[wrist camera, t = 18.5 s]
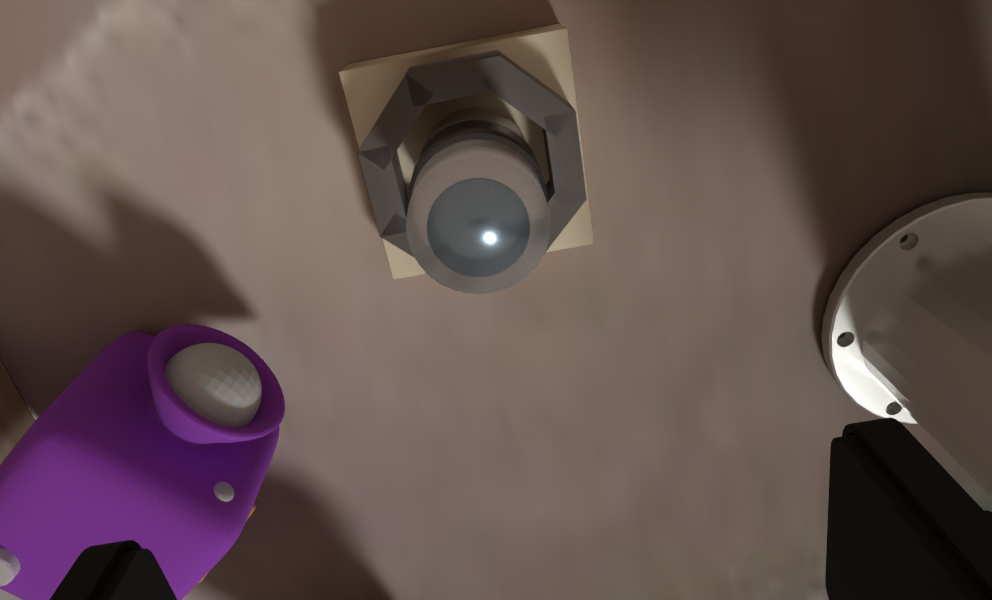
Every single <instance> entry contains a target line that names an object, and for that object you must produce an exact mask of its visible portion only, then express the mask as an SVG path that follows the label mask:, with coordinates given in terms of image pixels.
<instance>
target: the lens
mask: <svg viewBox="0 0 992 600" xmlns="http://www.w3.org/2000/svg"><path fill="white" fill-rule="evenodd" d="M407 210H408V211H407V217H406V234H407V239H408V243H409V246H410V249H411V251H412V253H413V256H414V258H415V259H416V261H417V262H418V264H419V265H420V266H421V268H422V269H423V270H424V271H425V272H426V273H427V274H428V275H429V276H430V277H432V278H433V279H434V280H436V281H437V282H439V283H440V284H442V285H444V286H446V287H448V288H451V289H454V290H456V291H461V292H465V293H473V294H483V293H492V292H496V291H500V290H503V289H506V288H508V287H510V286H512V285H514V284H516V283H518V282H519V281H521V280H522V279H524V278H525V277H526V276H527V275H528V274H529V273H531V272H532V270H533V269H534V268H535V267H536V266H537V264H538V263H539V261H540V260H541V258H542V257H543V255H544V253H545V251H546V248H547V245H548V242H549V237H550V228H551V221H550V213H549V209H548V195H547V189H546V185H545V181H544V179H543V176H542V173H541V170H540V167H539V164H538V162H537V159H536V157H535V155H534V153H533V151H532V149H531V148H530V147H529V145H528V144H527V141H526V139H525V137H524V135H523V133H522V132H521V130H520V129H519V128H518V126H517V125H516V124H515V123H514V122H513V121H512V120H510V119H509V118H508V117H506V116H505V115H503V114H501V113H499V112H497V111H494V110H491V109H487V108H480V107H472V108H465V109H461V110H458V111H455V112H453V113H451V114H449V115H447V116H446V117H444V118H443V119H442V120H440V121H439V122H438V123H437V124H436V125H435V126H434V128H433V129H432V130H431V132H430V133H429V135H428V137H427V139H426V142H425V144H424V147H423V149H422V150H421V152H420V154H419V156H418V158H417V161H416V163H415V166H414V170H413V174H412V177H411V181H410V185H409V189H408V196H407Z"/></svg>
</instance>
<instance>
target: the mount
mask: <svg viewBox="0 0 992 600" xmlns="http://www.w3.org/2000/svg"><path fill="white" fill-rule="evenodd" d="M339 75H340V78H341V82H342V86H343V90H344V93H345V97H346V101H347V105H348V109H349V112H350V116H351V120H352V124H353V127H354V131H355V135H356V139H357V143H358V146H359V150H358V156H359V160H360V163H361V167H362V171H363V175H364V178H365V182H366V186H367V190H368V193H369V197H370V201H371V205H372V209H373V212H374V216H375V220H376V224H377V227H378V231H379V235H380V237H381V238H383V241H384V245H385V248H386V252H387V256H388V260H389V263H390V267H391V271H392V275H393V279H399V278H405V277H410V276H416V275H422V274H427V273H426V272H425V271H424V270H423V269H422V268H421V266H420V265H419V264H418V262H417V261H416V259H415V258H414V256H413V253H412V251H411V249H410V246H409V243H408V239H407V234H406V217H407V211H408V210H407V196H408V189H409V185H410V181H411V177H412V174H413V170H414V166H415V163H416V161H417V158H418V156H419V154H420V152H421V150H422V149H423V147H424V144H425V142H426V139H427V137H428V135H429V133H430V132H431V130H432V129H433V128H434V126H435V125H436V124H437V123H438V122H439V121H440V120H442V119H443V118H444V117H446V116H447V115H449V114H451V113H453V112H455V111H458V110H461V109H465V108H472V107H480V108H487V109H491V110H494V111H497V112H499V113H501V114H503V115H505V116H506V117H508V118H509V119H510V120H512V121H513V122H514V123H515V124H516V125H517V126H518V128H519V129H520V130H521V132H522V133H523V135H524V137H525V139H526V141H527V144H528V145H529V147H530V148H531V149H532V151H533V153H534V155H535V157H536V159H537V162H538V164H539V167H540V170H541V173H542V176H543V179H544V181H545V185H546V189H547V195H548V209H549V213H550V221H551V228H550V237H549V242H548V245H547V248H546V251H545V252H550V251H556V250H562V249H567V248H573V247H578V246H584V245H590V244H594V242H593V234H592V225H591V217H590V209H589V201H588V193H587V185H586V177H585V169H584V161H583V153H582V145H581V136H580V128H579V120H578V112H577V104H576V96H575V88H574V80H573V72H572V64H571V56H570V47H569V39H568V31H567V28H566V27H564V26H563V25H561V24H554V25H549V26H543V27H538V28H533V29H528V30H523V31H517V32H512V33H507V34H502V35H497V36H491V37H486V38H481V39H476V40H471V41H465V42H460V43H455V44H450V45H445V46H439V47H434V48H429V49H424V50H419V51H413V52H408V53H403V54H398V55H393V56H387V57H382V58H377V59H372V60H367V61H361V62H356V63H351V64H348V65H347V66H346V67H344V68H343V69H342V70H341V71H339ZM544 254H545V253H544Z"/></svg>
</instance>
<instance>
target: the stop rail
mask: <svg viewBox="0 0 992 600" xmlns="http://www.w3.org/2000/svg"><path fill="white" fill-rule="evenodd" d="M34 422H35V420H34V419H33V417H32V415H31V413H30V412H29V410H28V408H27V406H26V405H25V403H24V401H23V399H22V398H21V396H20V394H19V392H18V391H17V389H16V387H15V385H14V383H13V382H12V380H11V378H10V376H9V375H8V373H7V371H6V369H5V368H4V366H3V364H2V362H1V361H0V465H1V463H2V462H3V461H4V460H5V458H6V457H7V456H8V454H9V453H10V452H11V450H12V449H13V448H14V447H15V445H16V444H17V443H18V442H19V440H20V439H21V438H22V436H23V435H24V434H25V433H26V431H27V430H28V429H29V428H30V427H31V425H32V424H33V423H34Z"/></svg>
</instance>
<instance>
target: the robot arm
mask: <svg viewBox="0 0 992 600" xmlns="http://www.w3.org/2000/svg"><path fill="white" fill-rule="evenodd" d="M821 340H822V347H823V354H824V359H825V361H826V364H827V366H828V369H829V371H830V374H831V376H832V377H833V378H834V380H835V381H836V382H837V384H838V385H839V386H840V388H841V389H842V390H843V391H844V392H845V393H846V394H847V395H848V396H849V397H850V398H851V399H852V400H853V401H854V403H855V404H857V405H858V406H860V407H862V408H863V409H865V410H866V411H868V412H869V413H871V414H873V415H876V416H878V417H881V418H883V419H877V420H871V421H865V422H859V423H853V424H848V425H846V426H845V428H844V429H843V434H842V437H837V438H834V439H833V440H832V442H831V454H830V479H829V505H828V530H827V555H826V589H827V594H828V597H829V600H992V512H990V511H988V510H987V511H984V510H983V509H982V508H981V507H980V506H979V505H978V504H977V503H976V502H975V501H974V500H973V499H972V498H971V497H970V496H969V495H968V494H967V492H966V491H965V490H964V489H963V488H962V487H961V486H960V485H959V484H958V483H957V482H956V481H955V480H954V479H953V478H952V477H951V476H950V474H949V473H948V472H947V471H946V470H945V469H944V468H943V467H942V466H941V465H940V464H939V463H938V462H937V461H936V460H935V459H934V458H933V456H932V455H931V454H930V453H929V452H928V451H927V450H926V449H925V448H924V447H923V446H922V445H921V444H920V443H919V442H918V441H917V439H916V438H915V437H914V436H913V435H912V434H911V433H910V432H909V431H908V430H907V429H906V428H905V427H904V426H903V425H902V424H901V423H900V422H902V423H908V424H919V425H920V426H921V427H922V428H923V429H924V430H925V431H926V432H927V433H928V434H929V435H930V436H931V437H932V438H933V439H934V440H935V441H936V442H937V443H938V444H939V445H940V446H941V447H942V448H943V449H944V450H945V451H946V452H947V453H948V454H949V455H950V456H951V457H952V458H953V459H954V460H955V461H956V462H957V463H958V464H959V465H960V466H961V467H962V468H963V469H964V470H965V471H966V472H967V473H968V474H969V475H970V476H971V477H972V478H973V479H974V480H975V481H976V483H977V484H978V485H979V486H980V487H981V488H982V489H983V490H984V491H985V492H986V493H987V494H988V495H989V496H990V497H991V498H992V193H967V194H962V195H956V196H951V197H946V198H943V199H940V200H937V201H935V202H932V203H929V204H926V205H923V206H921V207H919V208H917V209H915V210H913V211H911V212H909V213H907V214H906V215H904V216H902V217H900V218H898V219H896V220H895V221H894V222H892V223H891V224H890V225H888V226H887V227H886V228H884V229H883V230H881V231H880V232H879V233H877V234H876V235H875V236H874V237H873V238H872V239H871V240H870V241H869V242H868V243H867V244H866V245H865V246H864V247H863V248H862V249H861V250H860V251H859V252H858V253H857V254H856V255H855V256H854V257H853V259H852V260H851V261H850V263H849V264H848V265H847V267H846V268H845V269H844V271H843V272H842V274H841V275H840V277H839V279H838V281H837V283H836V285H835V287H834V289H833V291H832V293H831V294H830V296H829V300H828V303H827V306H826V310H825V313H824V317H823V325H822V336H821ZM50 600H177V598H176V596H175V594H174V592H173V590H172V588H171V587H170V585H169V583H168V581H167V579H166V577H165V575H164V573H163V571H162V569H161V568H160V566H159V564H158V562H157V560H156V558H155V556H154V555H153V553H152V552H151V551H150V550H148V549H142V547H141V546H140V545H139V543H137V542H135V541H134V540H126V541H120V542H113V543H107V544H101V545H95V546H90V547H88V548H86V549H84V551H83V552H82V553H81V554H80V555H79V556H78V558H77V559H76V561H75V562H74V564H73V565H72V567H71V568H70V570H69V571H68V573H67V574H66V576H65V577H64V579H63V580H62V582H61V583H60V585H59V586H58V588H57V589H56V591H55V592H54V594H53V595H52V597H51V598H50Z"/></svg>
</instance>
